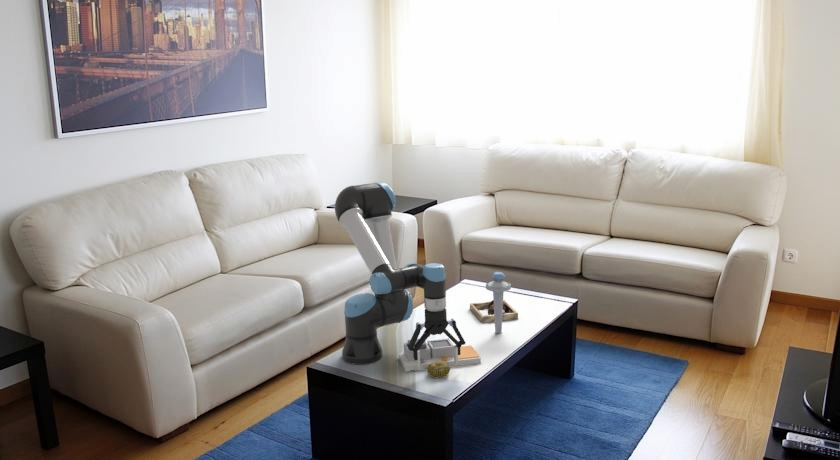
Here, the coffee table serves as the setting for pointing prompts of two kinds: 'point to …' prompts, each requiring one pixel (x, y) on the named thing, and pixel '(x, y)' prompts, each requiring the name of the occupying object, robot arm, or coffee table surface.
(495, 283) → the novelty light stick
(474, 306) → the mug frame
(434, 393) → the coffee table surface
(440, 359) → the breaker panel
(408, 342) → the block
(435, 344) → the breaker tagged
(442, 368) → the sculpture
